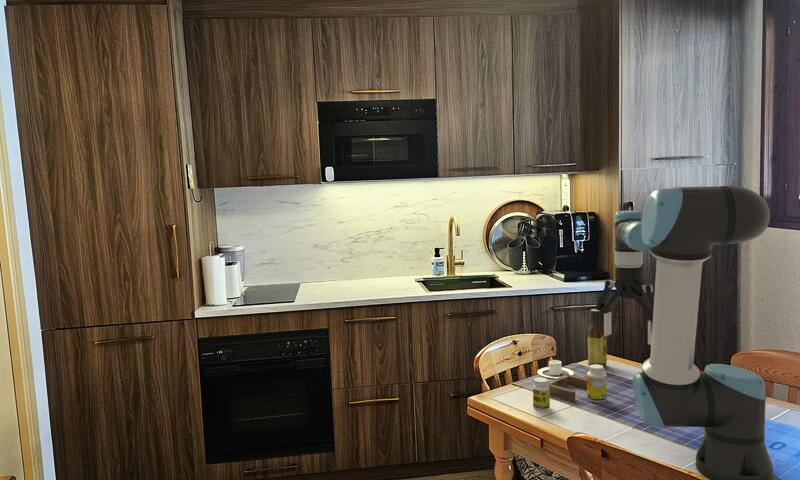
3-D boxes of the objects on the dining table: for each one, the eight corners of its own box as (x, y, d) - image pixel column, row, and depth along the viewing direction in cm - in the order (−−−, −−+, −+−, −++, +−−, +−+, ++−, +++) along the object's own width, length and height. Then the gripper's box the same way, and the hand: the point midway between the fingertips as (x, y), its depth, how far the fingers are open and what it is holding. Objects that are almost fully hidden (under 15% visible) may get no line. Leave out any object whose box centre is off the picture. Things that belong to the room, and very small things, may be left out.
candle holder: (573, 381, 199) (573, 368, 198) (535, 379, 202) (535, 366, 202) (574, 369, 210) (574, 357, 210) (538, 368, 214) (538, 356, 213)
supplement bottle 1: (531, 409, 176) (530, 381, 175) (535, 403, 180) (534, 376, 179) (547, 411, 174) (547, 383, 173) (551, 405, 178) (551, 378, 177)
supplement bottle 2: (587, 395, 185) (587, 362, 184) (606, 397, 183) (606, 364, 182) (586, 402, 179) (586, 368, 178) (606, 403, 178) (606, 369, 176)
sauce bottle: (608, 369, 208) (607, 312, 206) (589, 368, 209) (588, 312, 207) (605, 363, 215) (604, 307, 213) (586, 363, 216) (586, 308, 214)
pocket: (572, 402, 180) (572, 392, 180) (543, 393, 188) (542, 384, 188) (596, 390, 188) (596, 381, 188) (567, 383, 196) (567, 374, 196)
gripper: (678, 267, 165) (678, 344, 167) (597, 260, 184) (598, 329, 186) (664, 271, 160) (664, 350, 162) (582, 263, 179) (583, 333, 181)
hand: (629, 339), depth 174 cm, fingers open, 13 cm apart
